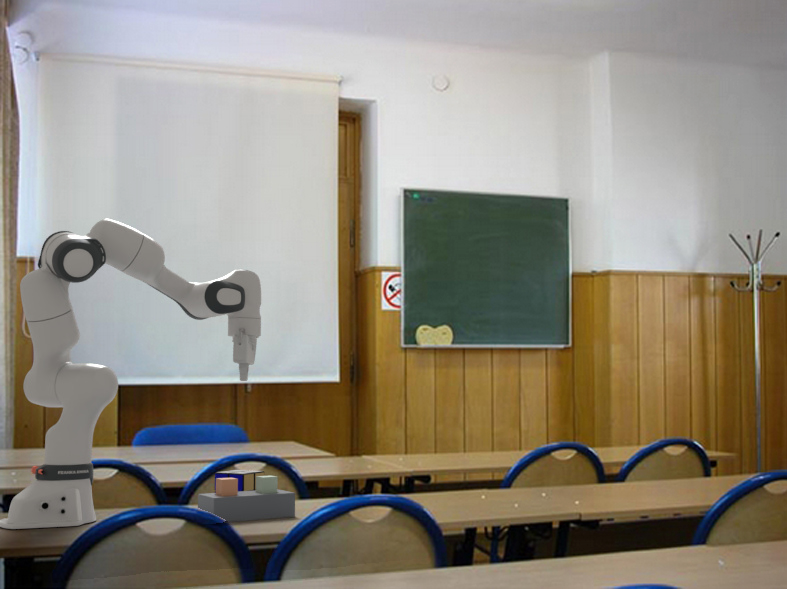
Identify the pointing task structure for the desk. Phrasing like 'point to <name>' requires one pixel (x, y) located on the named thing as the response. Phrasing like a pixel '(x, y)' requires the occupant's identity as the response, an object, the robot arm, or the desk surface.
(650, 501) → the desk surface
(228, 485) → the salmon orange block
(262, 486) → the pale green block
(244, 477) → the puzzle cube
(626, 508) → the desk surface
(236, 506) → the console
